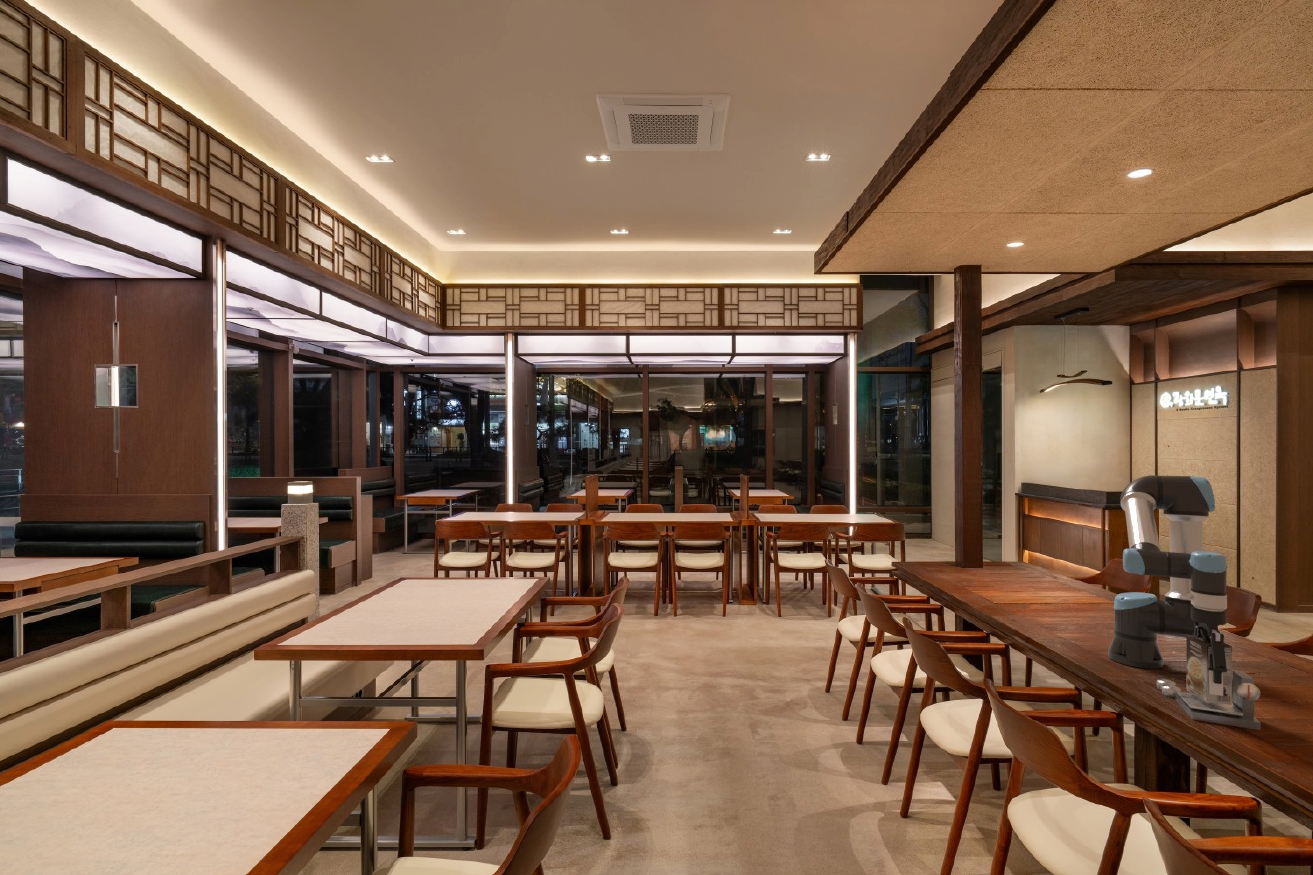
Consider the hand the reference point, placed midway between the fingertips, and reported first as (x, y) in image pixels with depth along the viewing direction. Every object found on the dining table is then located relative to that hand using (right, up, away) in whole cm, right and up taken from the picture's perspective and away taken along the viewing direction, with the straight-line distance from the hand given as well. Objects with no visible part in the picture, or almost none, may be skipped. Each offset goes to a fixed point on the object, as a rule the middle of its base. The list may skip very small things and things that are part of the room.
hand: (1208, 687), depth 170 cm
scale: (+1, -7, -1) cm, 7 cm away
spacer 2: (0, -8, +12) cm, 14 cm away
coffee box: (0, -3, 0) cm, 3 cm away
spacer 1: (+2, -8, +17) cm, 18 cm away
